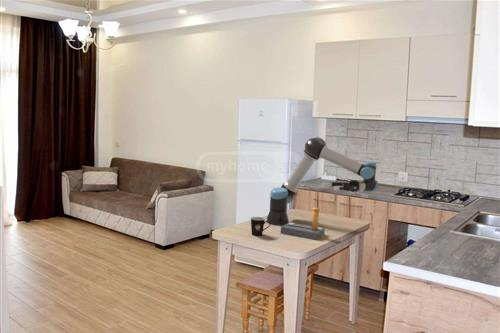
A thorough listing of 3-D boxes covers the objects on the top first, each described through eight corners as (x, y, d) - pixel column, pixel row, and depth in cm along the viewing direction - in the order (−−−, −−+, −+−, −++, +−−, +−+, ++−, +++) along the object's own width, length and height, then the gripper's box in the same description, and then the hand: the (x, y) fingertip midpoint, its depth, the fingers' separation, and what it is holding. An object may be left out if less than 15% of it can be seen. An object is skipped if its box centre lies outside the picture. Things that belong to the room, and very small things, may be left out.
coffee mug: (247, 235, 269) (248, 219, 268) (252, 231, 277) (253, 216, 276) (265, 237, 265) (266, 221, 264) (270, 234, 273) (271, 218, 272)
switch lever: (309, 234, 274) (311, 208, 272) (312, 233, 277) (314, 207, 275) (316, 235, 272) (318, 209, 270) (319, 234, 275) (320, 208, 273)
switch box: (280, 233, 278) (280, 226, 277) (289, 228, 290) (289, 222, 289) (316, 239, 267) (317, 232, 266) (324, 234, 279) (324, 227, 278)
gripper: (367, 195, 278) (339, 196, 270) (345, 188, 301) (318, 188, 293) (368, 183, 277) (340, 183, 269) (345, 177, 300) (318, 177, 292)
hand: (328, 186), depth 281 cm, fingers open, 13 cm apart
